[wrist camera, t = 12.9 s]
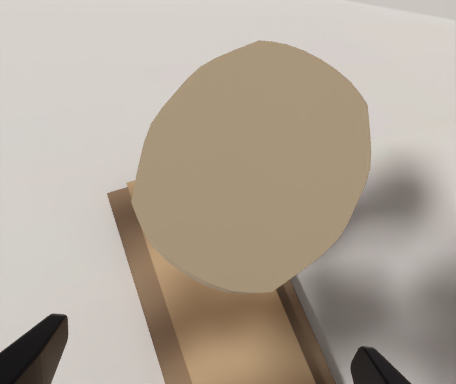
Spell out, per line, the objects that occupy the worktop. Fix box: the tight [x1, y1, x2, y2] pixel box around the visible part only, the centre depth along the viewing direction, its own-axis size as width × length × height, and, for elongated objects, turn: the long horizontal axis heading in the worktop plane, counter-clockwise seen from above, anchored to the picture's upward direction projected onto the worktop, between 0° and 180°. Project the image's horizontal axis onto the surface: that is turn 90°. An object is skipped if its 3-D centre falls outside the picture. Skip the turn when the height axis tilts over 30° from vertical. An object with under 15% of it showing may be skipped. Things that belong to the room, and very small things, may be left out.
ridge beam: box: [107, 180, 336, 384], centre depth 21 cm, size 22×10×2 cm, turn 22°
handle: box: [131, 41, 371, 294], centre depth 14 cm, size 5×6×15 cm
